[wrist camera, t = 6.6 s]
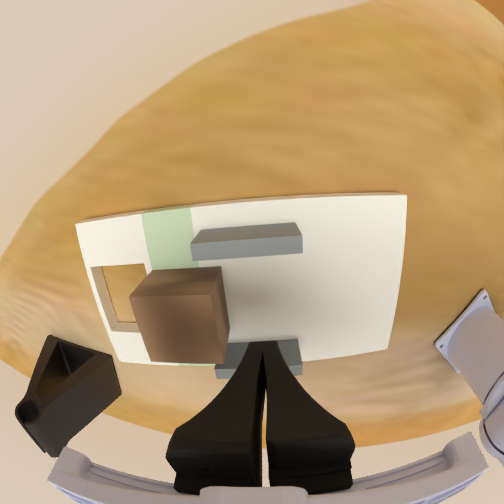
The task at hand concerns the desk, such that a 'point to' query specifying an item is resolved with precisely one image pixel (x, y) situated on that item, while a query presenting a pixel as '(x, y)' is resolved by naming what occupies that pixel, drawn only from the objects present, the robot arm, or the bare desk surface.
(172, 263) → the pad
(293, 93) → the desk surface
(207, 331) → the block
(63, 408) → the black open bin
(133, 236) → the board
